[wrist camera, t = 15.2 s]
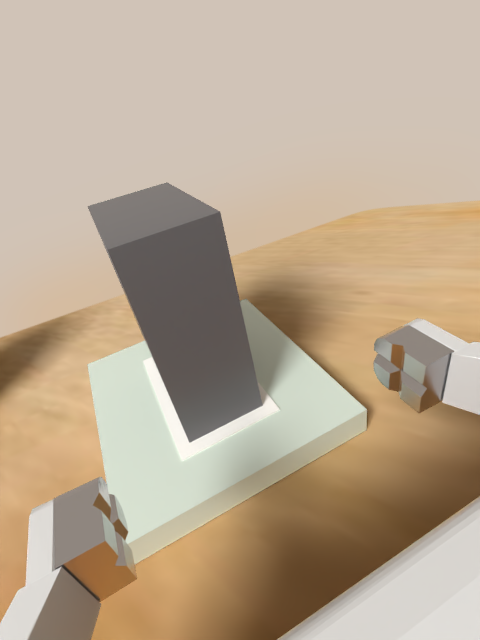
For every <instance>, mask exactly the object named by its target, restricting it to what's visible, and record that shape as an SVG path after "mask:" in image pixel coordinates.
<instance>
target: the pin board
mask: <svg viewBox="0 0 480 640" xmlns="http://www.w3.org/2000/svg"><path fill="white" fill-rule="evenodd" d="M240 305H241V309H242V314H243V318H244V323H245V327H246V332H247V336H248V341H249V345H250V350H251V354H252V359H253V364H254V368H255V373H256V377H257V382H258V386H259V391H260V395H261V400H262V404H263V406H261V407H259V408H257V409H255V410H253V411H251V412H249V413H247V414H245V415H243V416H241V417H239V418H237V419H235V420H233V421H232V422H230V423H228V424H226V425H224V426H222V427H220V428H218V429H216V430H214V431H212V432H210V433H208V434H206V435H204V436H202V437H200V438H198V439H196V440H194V441H192V442H190V443H189V441H188V438H187V436H186V434H185V431H184V429H183V427H182V425H181V422H180V420H179V418H178V415H177V413H176V411H175V409H174V406H173V404H172V402H171V399H170V397H169V395H168V393H167V390H166V388H165V386H164V383H163V381H162V379H161V377H160V374H159V372H158V370H157V367H156V365H155V363H154V360H153V358H152V356H151V353H150V351H149V349H148V346H147V344H146V342H145V341H143V342H140V343H138V344H135V345H133V346H131V347H128V348H126V349H123V350H121V351H119V352H116V353H114V354H111V355H109V356H107V357H104V358H102V359H99V360H97V361H95V362H92V363H90V364H87V365H88V371H89V377H90V383H91V389H92V395H93V402H94V408H95V414H96V420H97V426H98V432H99V439H100V445H101V451H102V457H103V463H104V469H105V475H106V482H107V486H108V492H109V494H112V495H115V497H116V498H117V500H118V501H119V503H120V505H121V507H122V510H123V513H124V516H125V519H126V523H127V527H128V535H127V537H126V540H125V541H126V543H127V544H128V545H129V547H130V548H131V550H132V553H133V559H134V564H137V563H138V562H140V561H142V560H144V559H145V558H147V557H149V556H150V555H152V554H154V553H156V552H157V551H159V550H161V549H162V548H164V547H166V546H168V545H169V544H171V543H173V542H175V541H176V540H178V539H180V538H181V537H183V536H185V535H187V534H188V533H190V532H192V531H193V530H195V529H197V528H199V527H200V526H202V525H204V524H205V523H207V522H209V521H211V520H212V519H214V518H216V517H218V516H219V515H221V514H223V513H224V512H226V511H228V510H230V509H231V508H233V507H235V506H236V505H238V504H240V503H242V502H243V501H245V500H247V499H249V498H250V497H252V496H254V495H255V494H257V493H259V492H261V491H262V490H264V489H266V488H267V487H269V486H271V485H273V484H274V483H276V482H278V481H280V480H281V479H283V478H285V477H286V476H288V475H290V474H292V473H293V472H295V471H297V470H298V469H300V468H302V467H304V466H305V465H307V464H309V463H310V462H312V461H314V460H316V459H317V458H319V457H321V456H323V455H324V454H326V453H328V452H329V451H331V450H333V449H335V448H336V447H338V446H340V445H341V444H343V443H345V442H347V441H348V440H350V439H352V438H354V437H355V436H357V435H359V434H360V433H362V432H364V431H366V430H367V409H366V408H365V407H364V406H363V405H361V404H360V403H359V402H358V401H357V400H356V399H355V398H354V397H353V396H352V395H351V394H349V393H348V392H347V391H346V390H345V389H344V388H343V387H342V386H341V385H340V384H339V383H337V382H336V381H335V380H334V379H333V378H332V377H331V376H330V375H329V374H328V373H327V372H325V371H324V370H323V369H322V368H321V367H320V366H319V365H318V364H317V363H316V362H315V361H313V360H312V359H311V358H310V357H309V356H308V355H307V354H306V353H305V352H304V351H303V350H301V349H300V348H299V347H298V346H297V345H296V344H295V343H294V342H293V341H292V340H291V339H289V338H288V337H287V336H286V335H285V334H284V333H283V332H282V331H281V330H280V329H279V328H277V327H276V326H275V325H274V324H273V323H272V322H271V321H270V320H269V319H268V318H267V317H265V316H264V315H263V314H262V313H261V312H260V311H259V310H258V309H257V308H256V307H255V306H253V305H252V304H251V303H250V302H249V301H248V300H247V299H244V300H241V301H240Z"/></svg>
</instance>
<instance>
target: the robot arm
mask: <svg viewBox="0 0 480 640" xmlns="http://www.w3.org/2000/svg"><path fill="white" fill-rule="evenodd" d="M374 350H375V351H376V352H377V353H378V354H377V356H376V358H375V360H374V371H375V374H376V376H377V378H378V379H379V381H380V382H381V383H382V384H383V385H384V386H385V387H386V388H388V389H389V390H393V391H397V392H399V395H400V399H401V400H403V401H404V402H405V403H406V404H408V405H409V406H410V407H411V408H413V409H414V410H415V411H417V412H418V413H421V412H423V411H424V410H426V409H428V408H430V407H432V406H434V405H435V404H437V403H439V402H441V401H442V403H445V404H448V405H451V406H454V407H457V408H460V409H463V410H466V411H469V412H472V413H475V414H478V415H480V343H479V342H471V343H467V342H465V341H463V340H461V339H460V338H458V337H456V336H454V335H452V334H450V333H448V332H446V331H445V330H443V329H441V328H439V327H437V326H435V325H433V324H431V323H430V322H428V321H426V320H424V319H416V320H414V321H412V322H410V323H408V324H406V325H404V326H401V327H399V328H397V329H395V330H393V331H391V332H389V333H387V334H385V335H384V336H382V337H380V338H378V339H377V340H376V342H375V343H374ZM127 535H128V527H127V523H126V519H125V516H124V513H123V510H122V507H121V505H120V503H119V501H118V500H117V498H116V497H115V495H112V494H109V492H108V486H107V484H106V482H105V481H104V480H103V478H102V477H99V478H96V479H94V480H92V481H90V482H88V483H86V484H84V485H81V486H79V487H77V488H75V489H73V490H71V491H69V492H66V493H64V494H62V495H60V496H58V497H56V498H54V499H52V500H50V501H48V502H46V503H44V504H42V505H40V506H37V507H35V508H33V509H32V512H31V514H30V517H29V531H28V549H27V568H26V586H25V587H23V588H21V589H19V590H18V591H17V593H16V595H15V597H14V599H13V601H12V602H11V604H10V606H9V608H8V610H7V612H6V614H5V615H4V617H3V619H2V621H1V623H0V640H91V637H92V634H93V630H94V627H95V624H96V620H97V617H98V613H99V610H100V607H101V603H100V602H101V601H102V600H104V599H106V598H107V597H109V596H110V595H112V594H114V593H115V592H117V591H118V590H120V589H122V588H123V587H125V586H127V585H128V584H130V583H131V582H133V581H135V580H136V579H137V575H136V569H135V564H134V559H133V553H132V550H131V548H130V547H129V545H128V544H127V543H126V541H125V540H126V537H127ZM277 640H480V496H479V497H478V498H476V499H475V500H473V501H472V502H471V503H469V504H468V505H466V506H465V507H464V508H462V509H461V510H459V511H458V512H457V513H455V514H454V515H452V516H451V517H449V518H448V519H447V520H445V521H444V522H442V523H441V524H440V525H438V526H437V527H435V528H434V529H432V530H431V531H430V532H428V533H427V534H425V535H424V536H423V537H421V538H420V539H418V540H417V541H416V542H414V543H413V544H411V545H410V546H408V547H407V548H406V549H404V550H403V551H401V552H400V553H399V554H397V555H396V556H394V557H393V558H391V559H390V560H389V561H387V562H386V563H384V564H383V565H382V566H380V567H379V568H377V569H376V570H375V571H373V572H372V573H370V574H369V575H367V576H366V577H365V578H363V579H362V580H360V581H359V582H358V583H356V584H355V585H353V586H352V587H350V588H349V589H348V590H346V591H345V592H343V593H342V594H341V595H339V596H338V597H336V598H335V599H334V600H332V601H331V602H329V603H328V604H326V605H325V606H324V607H322V608H321V609H319V610H318V611H317V612H315V613H314V614H312V615H311V616H309V617H308V618H307V619H305V620H304V621H302V622H301V623H300V624H298V625H297V626H295V627H294V628H293V629H291V630H290V631H288V632H287V633H285V634H284V635H283V636H281V637H280V638H278V639H277Z"/></svg>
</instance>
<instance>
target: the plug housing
mask: <svg viewBox="0 0 480 640" xmlns="http://www.w3.org/2000/svg"><path fill="white" fill-rule="evenodd" d="M88 209H89V211H90V213H91V215H92V218H93V220H94V223H95V225H96V227H97V230H98V232H99V234H100V237H101V239H102V241H103V243H104V246H105V248H106V251H107V253H108V255H109V258H110V260H111V262H112V265H113V267H114V269H115V272H116V274H117V276H118V278H119V281H120V283H121V286H122V288H123V290H124V292H125V295H126V297H127V300H128V302H129V304H130V307H131V309H132V311H133V314H134V316H135V318H136V321H137V323H138V325H139V328H140V330H141V332H142V335H143V337H144V339H145V342H146V344H147V346H148V349H149V351H150V353H151V356H152V358H153V360H154V363H155V365H156V367H157V370H158V372H159V374H160V377H161V379H162V381H163V383H164V386H165V388H166V390H167V393H168V395H169V397H170V399H171V402H172V404H173V406H174V409H175V411H176V413H177V415H178V418H179V420H180V422H181V425H182V427H183V429H184V431H185V434H186V436H187V438H188V441H189V443H190V442H192V441H194V440H196V439H198V438H200V437H202V436H204V435H206V434H208V433H210V432H212V431H214V430H216V429H218V428H220V427H222V426H224V425H226V424H228V423H230V422H232V421H233V420H235V419H237V418H239V417H241V416H243V415H245V414H247V413H249V412H251V411H253V410H255V409H257V408H259V407H261V406H263V404H262V400H261V395H260V391H259V386H258V382H257V377H256V373H255V368H254V364H253V359H252V354H251V350H250V345H249V341H248V336H247V332H246V327H245V323H244V318H243V314H242V309H241V305H240V300H239V295H238V291H237V286H236V282H235V277H234V273H233V268H232V264H231V259H230V255H229V250H228V246H227V241H226V236H225V232H224V227H223V223H222V219H221V214H220V211H218V210H216V209H214V208H212V207H211V206H209V205H206V204H205V203H203V202H201V201H200V200H198V199H196V198H194V197H192V196H191V195H189V194H187V193H185V192H183V191H181V190H180V189H178V188H176V187H174V186H172V185H170V184H169V183H164V184H161V185H157V186H154V187H151V188H147V189H144V190H141V191H137V192H134V193H131V194H127V195H124V196H121V197H117V198H114V199H111V200H107V201H104V202H101V203H97V204H94V205H91V206H88Z"/></svg>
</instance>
